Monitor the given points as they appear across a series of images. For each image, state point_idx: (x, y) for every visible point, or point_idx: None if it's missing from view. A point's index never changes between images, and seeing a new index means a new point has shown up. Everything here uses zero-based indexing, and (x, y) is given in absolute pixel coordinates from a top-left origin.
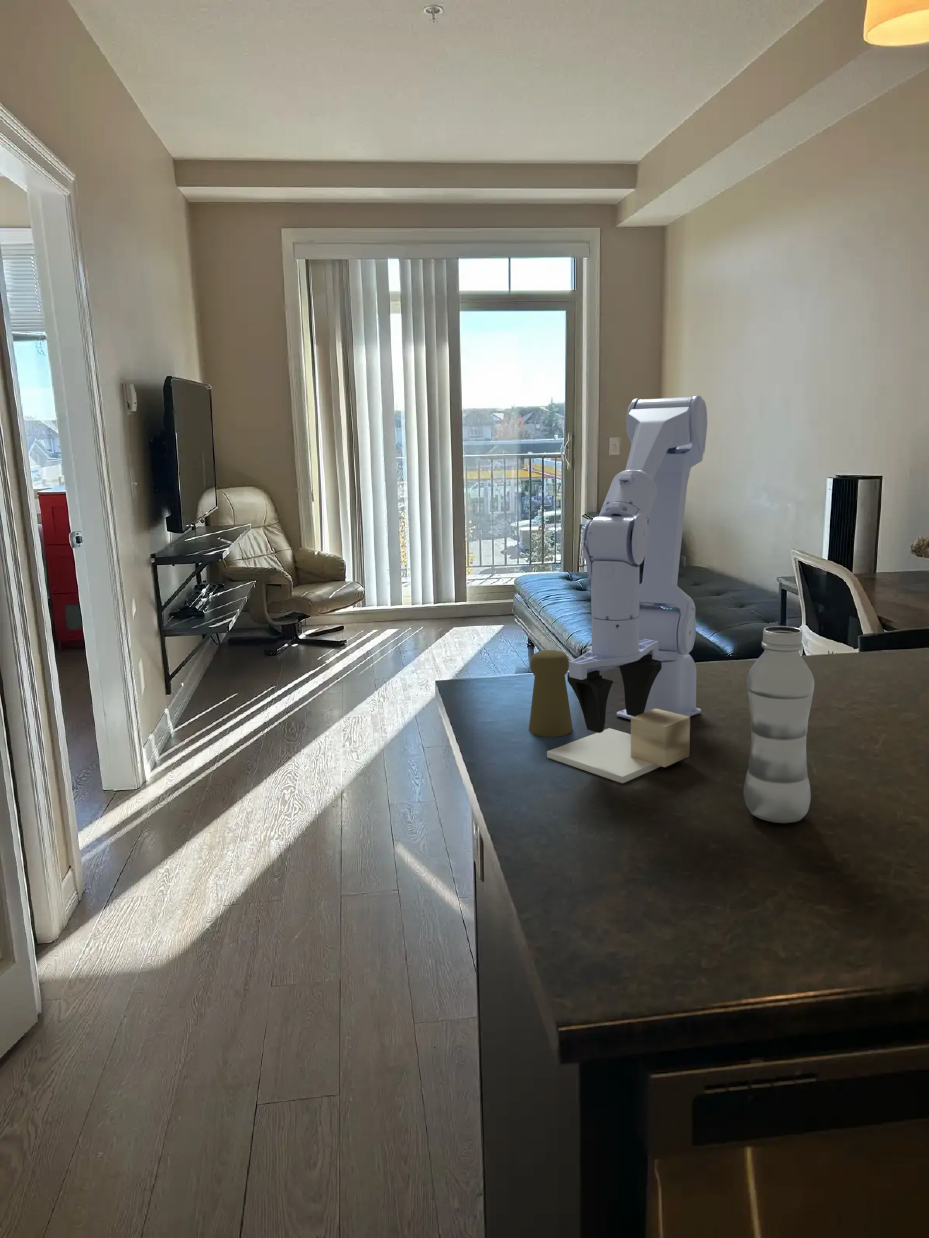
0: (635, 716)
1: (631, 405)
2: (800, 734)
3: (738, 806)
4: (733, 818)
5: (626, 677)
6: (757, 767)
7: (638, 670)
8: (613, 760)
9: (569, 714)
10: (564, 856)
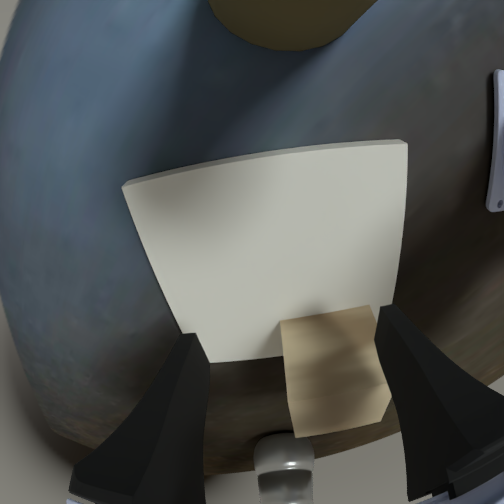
0: (307, 399)
1: None
2: None
3: (275, 423)
4: (248, 429)
5: (431, 414)
6: (258, 485)
7: (423, 466)
8: (234, 316)
9: (344, 26)
10: (67, 394)
